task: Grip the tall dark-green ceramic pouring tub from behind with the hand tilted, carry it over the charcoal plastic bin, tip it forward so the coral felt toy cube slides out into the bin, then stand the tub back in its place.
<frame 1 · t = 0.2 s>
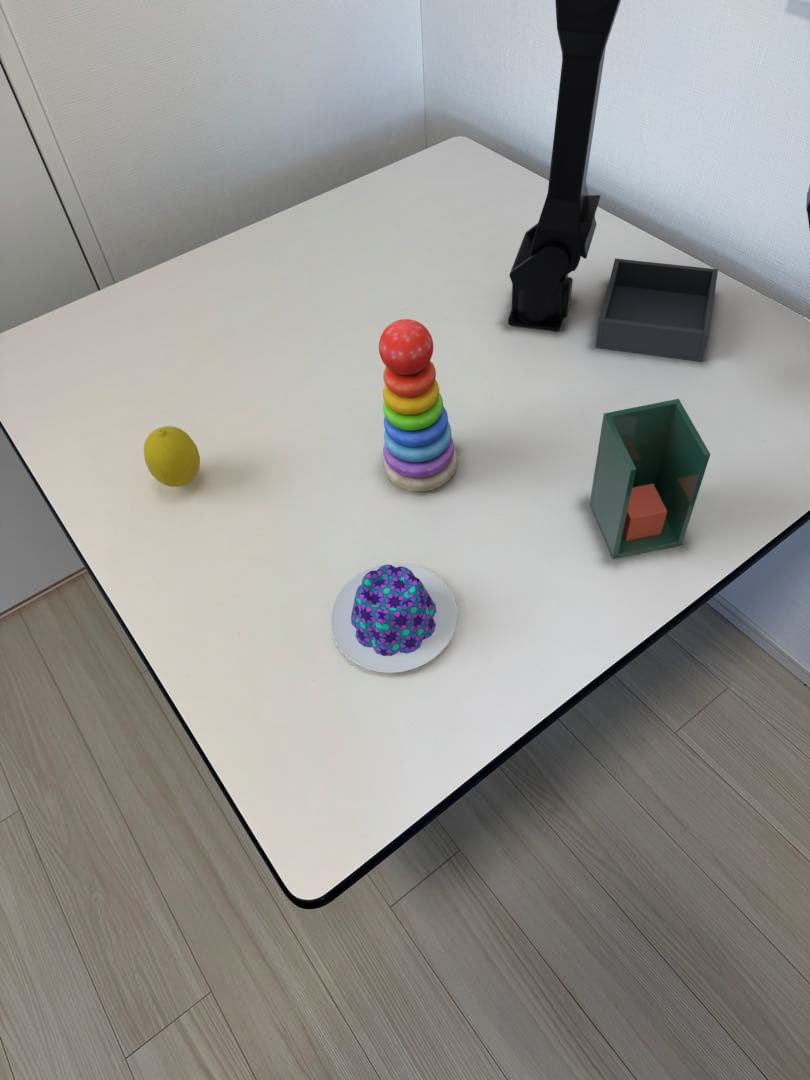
lemon: (184, 483, 90), on the table
toy cube: (636, 523, 81), point 1 cm above the table, touching pour tub
stacking toy: (421, 468, 88), on the table
pudding: (394, 620, 77), on the table
pour tub: (634, 524, 81), on the table, touching toy cube
bin: (654, 321, 99), on the table
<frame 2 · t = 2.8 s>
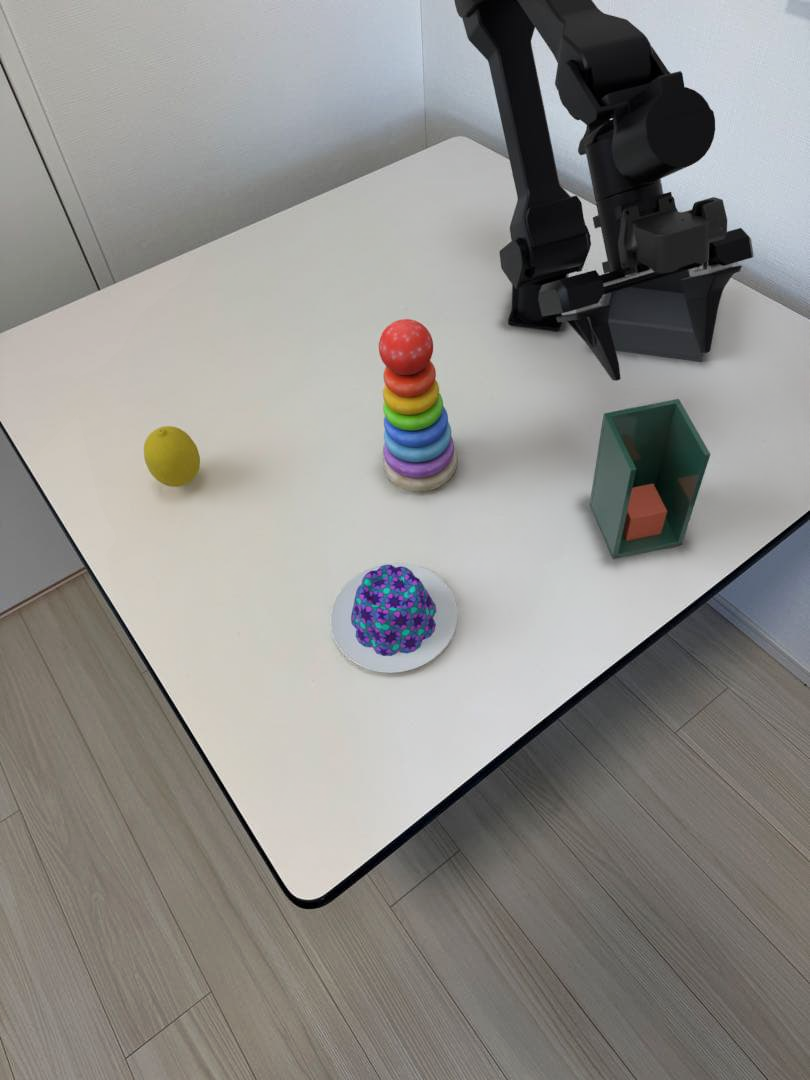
hand: (661, 366, 76), 13 cm above the table, tool tilted 40°, fingers open, 9 cm apart
nothing on the table moved.
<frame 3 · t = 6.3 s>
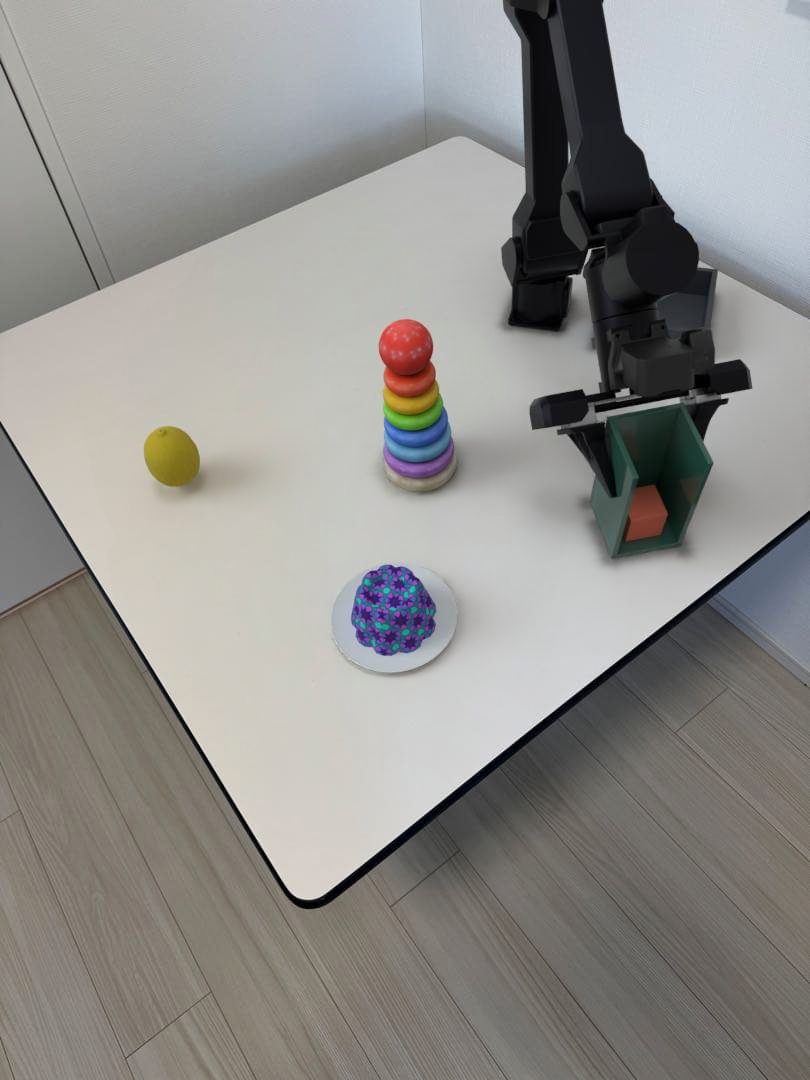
hand: (651, 490, 74), 7 cm above the table, tool tilted 45°, fingers closed on pour tub, 7 cm apart
pour tub: (634, 523, 81), on the table, touching gripper, toy cube
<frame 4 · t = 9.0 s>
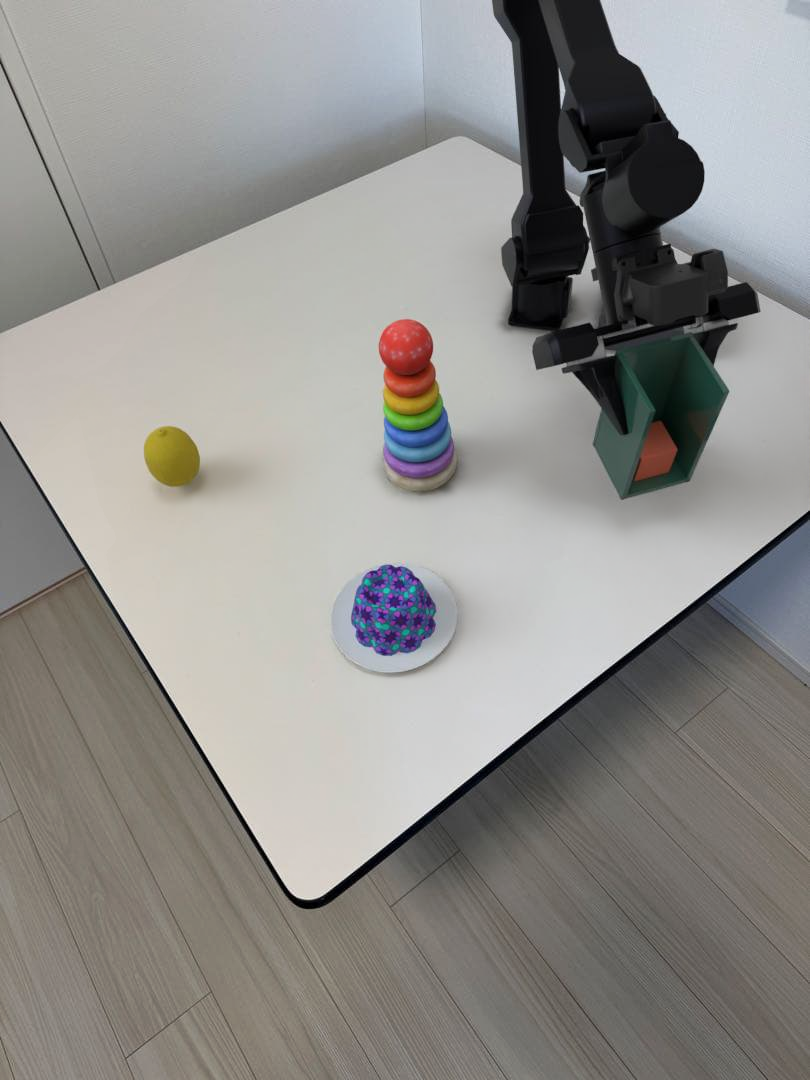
hand: (662, 424, 72), 13 cm above the table, tool tilted 45°, fingers closed on pour tub, 7 cm apart
toy cube: (643, 462, 78), point 6 cm above the table, tilted 6°, touching pour tub
pour tub: (640, 462, 79), point 5 cm above the table, tilted 6°, touching gripper, toy cube
everything else where it was.
when the fingers open (8 cm above the table, at t = 23.5 s): pour tub stays where it is, point 1 cm above the table.
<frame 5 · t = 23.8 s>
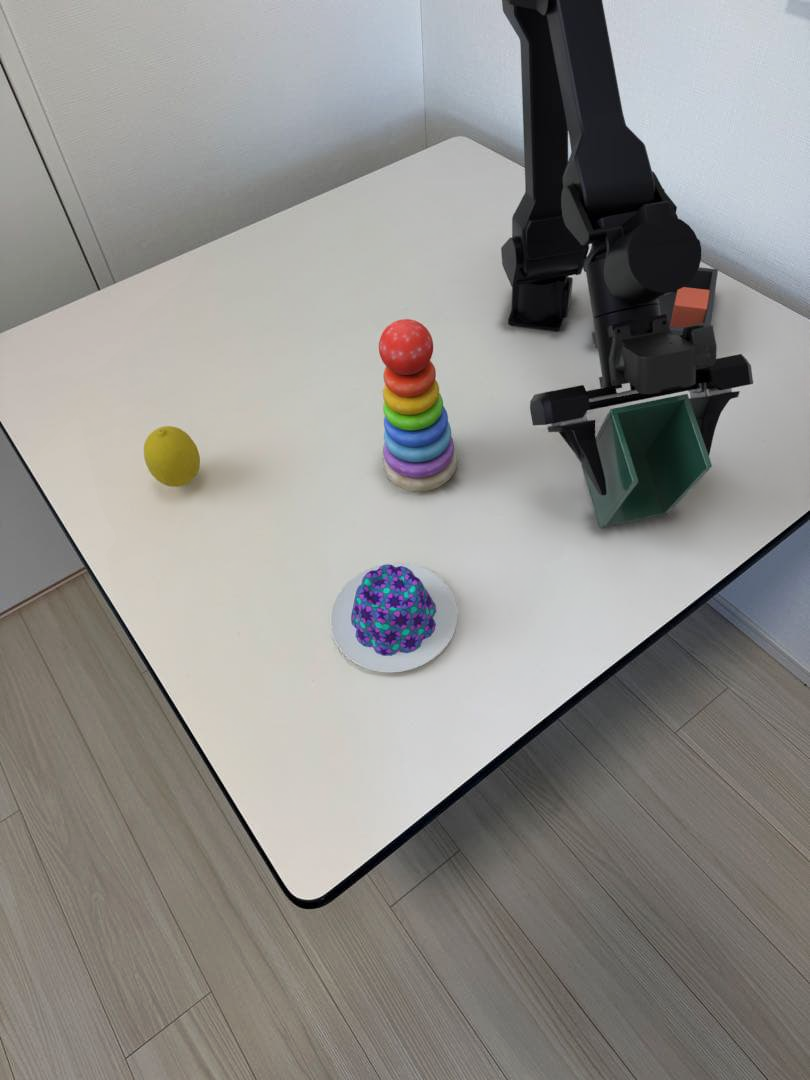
hand: (652, 485, 74), 8 cm above the table, tool tilted 45°, fingers open, 9 cm apart
toy cube: (686, 322, 98), resting on bin
pour tub: (623, 489, 83), point 1 cm above the table, tilted 21°, touching gripper
everything else where it was.
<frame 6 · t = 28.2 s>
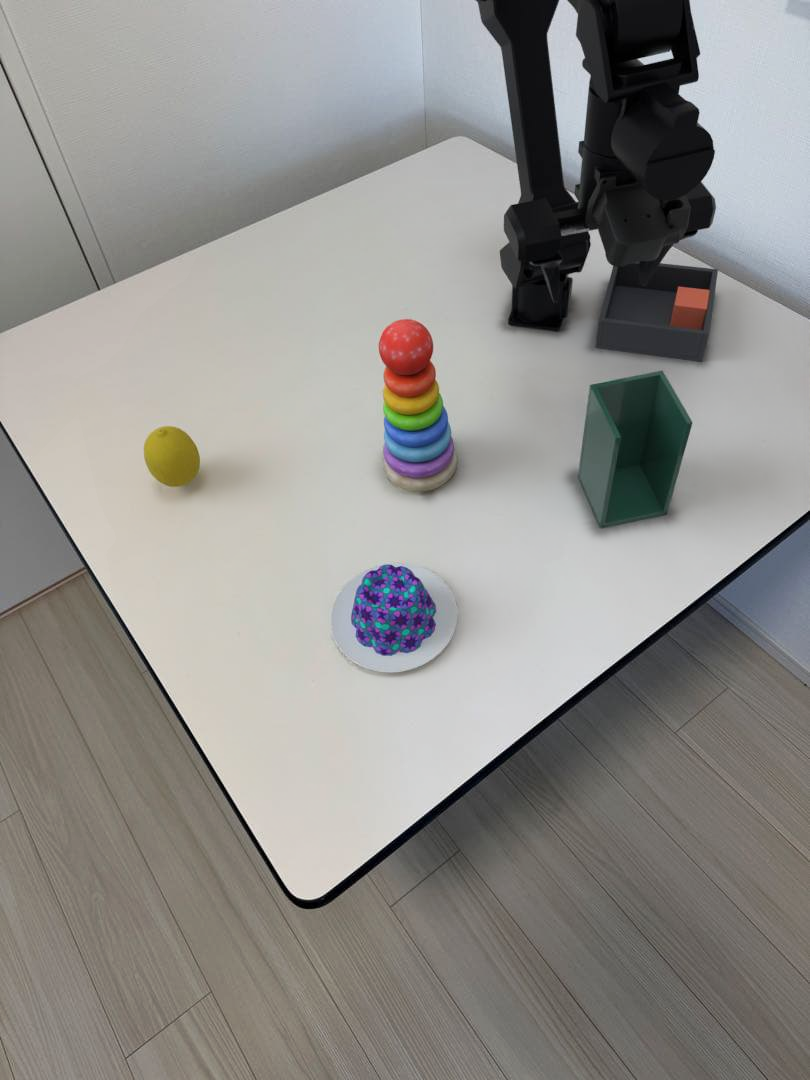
hand: (598, 292, 83), 13 cm above the table, tool pointing down, fingers open, 9 cm apart
pour tub: (621, 495, 84), on the table
everything else where it was.
at the end: toy cube inside the target area in the bin (3.7 cm from its centre), point 0.5 cm above the bin's base; pour tub tilted 0°; the gripper is holding nothing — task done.
